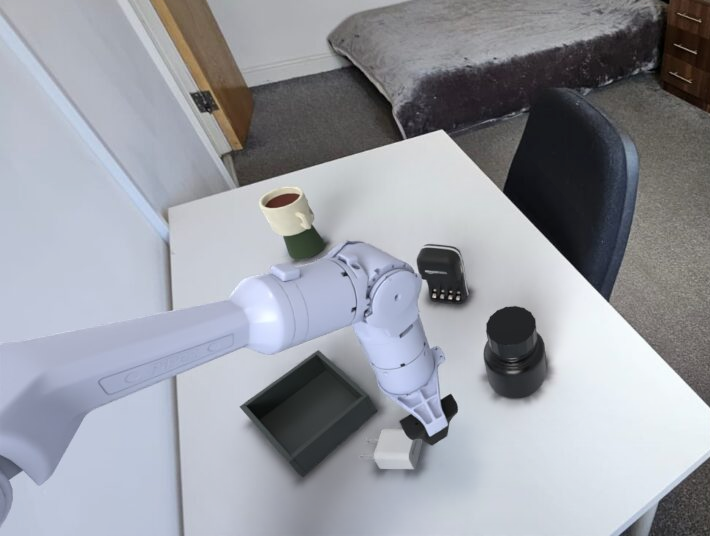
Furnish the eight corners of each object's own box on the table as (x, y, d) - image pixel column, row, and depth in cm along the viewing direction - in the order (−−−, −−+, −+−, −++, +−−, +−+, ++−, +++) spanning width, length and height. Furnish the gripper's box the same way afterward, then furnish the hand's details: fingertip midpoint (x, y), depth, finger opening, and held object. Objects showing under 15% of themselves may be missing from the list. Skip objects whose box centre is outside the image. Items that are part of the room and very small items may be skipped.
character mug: (342, 250, 92) (318, 197, 83) (309, 272, 87) (280, 218, 78) (307, 231, 96) (281, 178, 87) (274, 251, 91) (243, 197, 83)
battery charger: (425, 304, 82) (410, 257, 74) (433, 288, 85) (419, 241, 77) (464, 308, 81) (453, 261, 74) (470, 292, 84) (461, 245, 77)
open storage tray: (302, 477, 60) (288, 462, 57) (254, 423, 65) (239, 406, 62) (377, 411, 67) (368, 394, 64) (328, 367, 72) (318, 349, 69)
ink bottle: (558, 360, 74) (556, 311, 66) (534, 409, 67) (529, 361, 60) (502, 342, 76) (494, 292, 68) (475, 388, 70) (462, 339, 62)
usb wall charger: (414, 471, 61) (407, 457, 58) (361, 470, 61) (351, 457, 58) (422, 440, 64) (416, 426, 61) (371, 440, 64) (363, 425, 61)
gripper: (466, 374, 45) (483, 441, 53) (407, 284, 53) (431, 354, 62) (393, 417, 41) (425, 480, 50) (343, 313, 50) (377, 383, 59)
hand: (424, 413), depth 56 cm, fingers open, 7 cm apart
